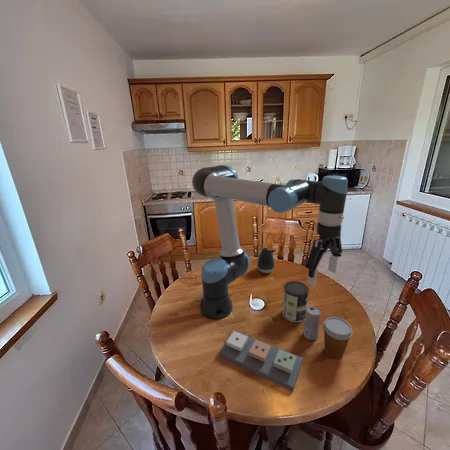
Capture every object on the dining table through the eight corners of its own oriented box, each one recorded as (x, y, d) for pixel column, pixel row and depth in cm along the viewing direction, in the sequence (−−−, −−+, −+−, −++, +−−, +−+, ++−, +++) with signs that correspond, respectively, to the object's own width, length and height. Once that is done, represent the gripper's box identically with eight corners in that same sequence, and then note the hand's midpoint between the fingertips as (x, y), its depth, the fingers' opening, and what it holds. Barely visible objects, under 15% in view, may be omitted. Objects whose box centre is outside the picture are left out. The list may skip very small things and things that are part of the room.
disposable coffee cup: (324, 337, 94) (328, 312, 90) (351, 349, 88) (356, 323, 84) (316, 353, 87) (319, 327, 83) (344, 367, 81) (349, 340, 77)
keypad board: (219, 356, 87) (218, 352, 86) (234, 334, 97) (234, 330, 96) (292, 391, 74) (293, 387, 73) (302, 362, 84) (302, 357, 83)
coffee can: (304, 308, 110) (307, 281, 106) (307, 324, 101) (310, 295, 96) (282, 305, 112) (283, 280, 108) (282, 321, 103) (284, 293, 98)
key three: (273, 369, 79) (273, 361, 78) (278, 356, 84) (279, 348, 83) (291, 377, 76) (291, 369, 75) (296, 363, 81) (296, 355, 80)
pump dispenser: (274, 276, 137) (275, 252, 132) (256, 274, 139) (256, 251, 134) (274, 267, 146) (275, 245, 141) (257, 266, 149) (258, 243, 144)
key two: (248, 358, 84) (248, 351, 83) (255, 346, 89) (255, 339, 87) (264, 365, 81) (265, 358, 80) (270, 353, 86) (271, 345, 85)
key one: (226, 348, 88) (226, 341, 87) (234, 337, 93) (234, 330, 92) (241, 355, 85) (241, 347, 84) (248, 343, 90) (248, 336, 89)
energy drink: (314, 330, 97) (317, 305, 94) (320, 340, 92) (323, 314, 88) (301, 330, 97) (304, 306, 93) (306, 340, 92) (309, 315, 88)
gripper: (319, 235, 70) (311, 295, 77) (358, 217, 84) (348, 270, 92) (297, 228, 76) (292, 285, 83) (337, 213, 90) (330, 262, 97)
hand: (322, 277), depth 87 cm, fingers open, 13 cm apart
